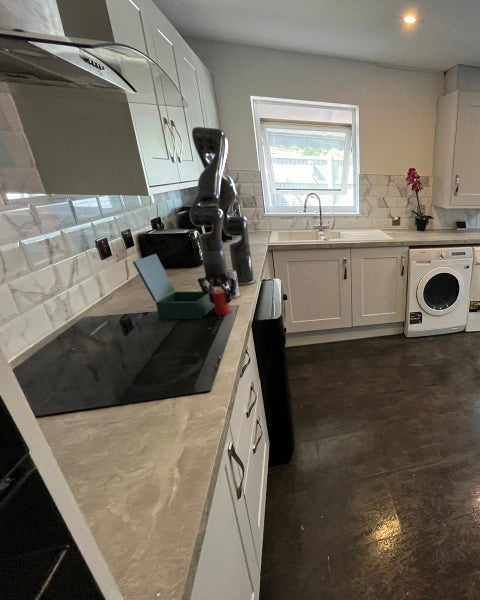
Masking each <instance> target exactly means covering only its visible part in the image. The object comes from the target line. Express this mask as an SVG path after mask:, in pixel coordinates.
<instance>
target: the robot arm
mask: <svg viewBox="0 0 480 600" xmlns="http://www.w3.org/2000/svg"><path fill="white" fill-rule="evenodd" d="M191 137H192V142H193V145H194V148H195V150H196V152H197V155H198V158H199V160H200V162H201V164H202V167H203V169H204V170H203V171H202V172H201V173H200V175H199V177H198V180H197V191H196V192H197V193H196V196H195V199H194V200H193V203H192V204H191V207H190V209H189V219H190V222H191V223H192V225H194V226H196V227H204V228H205V227H212V229H211V231H208V232H204V233H201V234H200V235H199V242H200V248H201V258H202V260H201V261H202V264H203V269H204V274H205V276H201V277H199V278H198V279H197V282H198V285H199V287H200V289H201V292H203V293H208V294H209V298H210V301H211V302H212V303H214V299H213V294H212V292H213V291H215V288H217V287H218V288H221V290H224V292H225V293H226V295H225V296H226V302H227V303H229V304H230V303H231V302H232V300H233V298H231V293H233V292H234V291H235V290H236V282H237V281H238V286H246V285H251V284H253V283H255V278H254V277H255V276H254V269H253V260H252V253H251V247H250V246H251V245H250V235H249V223H248V219H247V218H246V217H245V216H230V215H229V211H230V210H231V208H232V206H233V204H234V203H235V200H236V197H237V192H236V188H235V184H234V181H233V179H232V178H231V177H230V175H229V174H228V173H226V171H225V170H224V168H225V163H226V160H227V156H228V155H227V154H228V148H229V145H228V139H227V134H226V132H225V131H224V130H223V129H220V128H214V127H204V126H203V127H202V126H195V127H193V128H192V131H191ZM212 155H214V156H212ZM212 205H213V206H212ZM214 205H216V206H214ZM223 232H224V234H225V235H226V236H229V237H240V239H238V240H236V241H233V242H231V243H230V244H229V245H228V250H229V254H230V261H231V267H232V269H231V270H235V271H236V274H237V278H236V277H234V278H232V277H229V276H228V274H227V270H228V266H227V261H226V255H225V252H224V251H225V250H224V247H223V245H224V244H223V240H222V239H223V238H222V237H223V236H222V234H223ZM228 280H229V281H230V283H231V287H230V288H229V285H228V283H227V281H228ZM208 284H209V285H208Z"/></svg>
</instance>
